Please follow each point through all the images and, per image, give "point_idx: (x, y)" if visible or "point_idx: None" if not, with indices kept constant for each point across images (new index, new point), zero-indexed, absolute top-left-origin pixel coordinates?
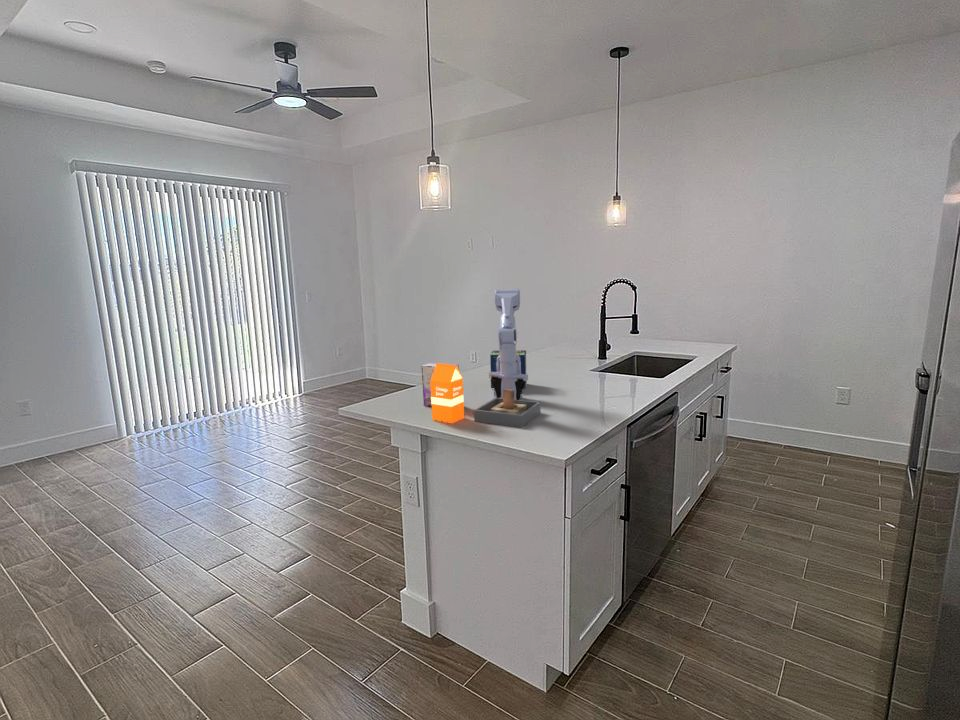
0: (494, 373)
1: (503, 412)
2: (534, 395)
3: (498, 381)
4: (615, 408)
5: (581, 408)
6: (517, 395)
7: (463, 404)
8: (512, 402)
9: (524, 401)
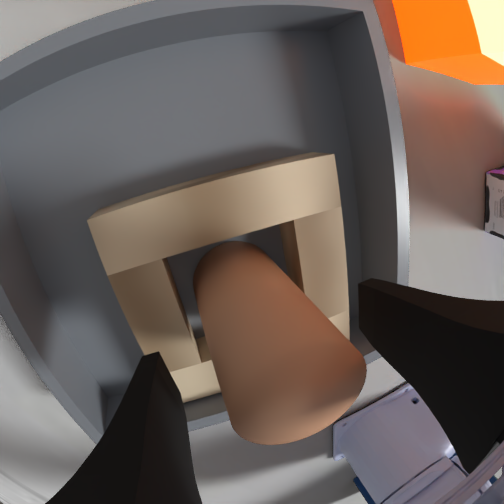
0: None
1: (209, 179)
2: (298, 483)
3: (487, 397)
4: (18, 496)
5: (60, 482)
6: (133, 385)
7: (466, 53)
8: (205, 323)
9: (194, 418)
